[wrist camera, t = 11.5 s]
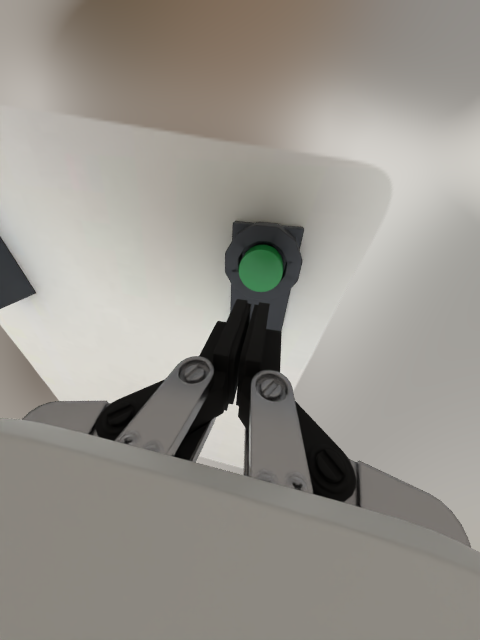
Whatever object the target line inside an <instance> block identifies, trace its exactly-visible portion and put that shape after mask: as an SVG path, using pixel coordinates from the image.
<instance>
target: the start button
mask: <svg viewBox="0 0 480 640" xmlns="http://www.w3.org/2000/svg"><path fill="white" fill-rule="evenodd" d="M282 275H283V260H282V257H281V255H280V253H279V252H278V251H277V250H276V249H275V248H273V247H271V246H269V245H256V246H254V247H252V248H250V249H249V250H248V251H247V252H246V253H245V255H244V257H243V258H242V260H241V262H240V265H239V276H240V279H241V281H242V282H243V284H244V285H245V286H246V287H247V288H249V289H251V290H253V291H256V292H266V291H269V290H271V289H273V288H274V287H276V286H277V285H278V284H279V282H280V281H281V278H282Z"/></svg>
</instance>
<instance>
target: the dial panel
mask: <svg viewBox="0 0 480 640" xmlns="http://www.w3.org/2000/svg"><path fill="white" fill-rule="evenodd" d="M33 294H35V291H34V289H33V288H32V286H31V285H30V283H29V282H28V280H27V278H26V277H25V275H24V274H23V272H22V271H21V269H20V268H19V266H18V264H17V263H16V261H15V260H14V258H13V257H12V255H11V254H10V252H9V250H8V249H7V247H6V246H5V244H4V243H3V241H2V239H1V238H0V309H1V308H3V307H6V306H8V305H10V304H12V303H15V302H17V301H19V300H22V299H24V298H26V297H28V296H31V295H33Z"/></svg>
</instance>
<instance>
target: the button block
mask: <svg viewBox="0 0 480 640" xmlns="http://www.w3.org/2000/svg"><path fill="white" fill-rule="evenodd" d="M303 232H304V228H303V227H295V226H284V225H280V224H277V223H265V222H256V223H250V222H239V221H235V222H233V234H232V242H231V244H230V246H229V247H228V249H227V251H226V253H225V273H226V275H227V276H228V278H229V280H230V282H231V311H232V309H233V306H234V304H235V302H236V300H237V299H241V300H248V303H250V304H251V314H250V319H251V315H252V312H253V308H254V304H256V305H259V302H262V303H269V304H270V306H269V313H268V319H267V326H266V329H271V330H277V331H281V330H282V325H283V321H284V316H285V312H286V308H287V303H288V299H289V294H290V290H291V287H292V286H293V285H294V284H295V283H296V282H297V281H298V278H299V274H300V270H301V265H302V257H301V253H300V246H301V241H302V237H303ZM256 245H269V246H271V247H273V248H275V249H276V250H277V251H278V252H279V253H280V255H281V257H282V260H283V275H282V278H281V281H280V282H279V284H278V285H277V286H276V287H274V288H273V289H271V290H269V291H266V292H256V291H253V290H251V289H249V288H247V287H246V286H245V285H244V284H243V282H242V281H241V279H240V276H239V265H240V262H241V260H242V258H243V257H244V255H245V253H246V252H247V251H248V250H249V249H250V248H252V247H254V246H256ZM230 313H231V312H230Z"/></svg>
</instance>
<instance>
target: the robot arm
mask: <svg viewBox="0 0 480 640" xmlns="http://www.w3.org/2000/svg"><path fill="white" fill-rule="evenodd" d="M269 306H270V304H269V303H262V302H259V305H256V304H254V308H253V312H252V315H251V319H250V314H251V304H250V303H248V300H241V299H237V300H236V302H235V304H234V306H233V309H232V311H231V313H230V316H229V318H228V320H227V322H221V321H218V322H217V323H216V325H215V327H214V329H213V331H212V332H211V334H210V336H209V338H208V340H207V342H206V344H205V346H204V348H203V350H202V352H201V354H200V356H195V357H190V358H186V359H185V360H183V361H181V362H180V363H179V364H178V365H177V366H176V367H175V368H174V370H173V371H172V372H171V373H170V374H169V376H168V377H167V378H166V379H165V380H163V381H160V382H158V383H156V384H153V385H151V386H149V387H146V388H144V389H142V390H139V391H137V392H135V393H132V394H130V395H128V396H125V397H123V398H121V399H118V400H116V401H115V402H113V403H108V402H107V401H55V402H49V403H46V404H43V405H41V406H38V407H37V408H35V409H34V410H32V411H30V412H29V413H28V414H27V415H26V416H25V417H24V418H23V419H22V420H20V419H8V418H0V640H480V552H478V551H476V550H474V549H472V548H471V546H470V543H469V540H468V537H467V535H466V533H465V531H464V529H463V527H462V525H461V523H460V522H459V521H458V519H457V518H456V516H455V515H454V514H453V512H452V511H451V510H450V509H449V508H448V507H447V506H445V505H444V504H443V503H442V502H441V501H440V500H438V499H437V498H435V497H434V496H432V495H431V494H429V493H427V492H425V491H423V490H420V489H418V488H416V487H414V486H412V485H410V484H407V483H405V482H403V481H401V480H399V479H397V478H395V477H393V476H391V475H389V474H386V473H384V472H382V471H380V470H378V469H376V468H374V467H372V466H370V465H368V464H365V463H363V462H361V461H358V462H354V461H352V460H350V459H348V457H347V456H346V455H345V454H344V452H343V451H342V450H341V449H340V448H339V447H338V446H337V445H336V444H335V443H334V442H333V441H332V439H331V438H330V437H329V436H328V435H327V434H326V433H325V432H324V431H323V430H322V429H321V428H320V427H319V426H318V425H317V424H316V422H315V421H313V420H312V418H311V417H310V416H309V415H308V414H307V413H306V412H305V411H304V410H303V409H302V408H301V407H300V406H299V405H298V403H297V402H296V401H295V399H294V394H293V389H292V386H291V383H290V381H289V380H288V379H287V377H285V376H284V375H283V374H281V373H280V357H281V331H277V330H271V329H266V326H267V319H268V313H269ZM237 386H238V388H237ZM236 390H237V402H236V405H238V406H239V413H238V417H239V418H240V420H241V421H242V423H243V425H244V426H245V441H244V475H240V474H236V473H233V472H229V471H225V470H222V469H218V468H214V467H210V466H207V465H203V464H199V463H196V460H197V458H198V456H199V454H200V452H201V450H202V448H203V446H204V443H205V441H206V439H207V437H208V435H209V433H210V431H211V428H212V426H213V424H214V422H215V419H216V417H217V416H219V415H221V414H222V413H223V412H224V410H226V411H227V408H228V404H233V402H234V398H235V394H236Z"/></svg>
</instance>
